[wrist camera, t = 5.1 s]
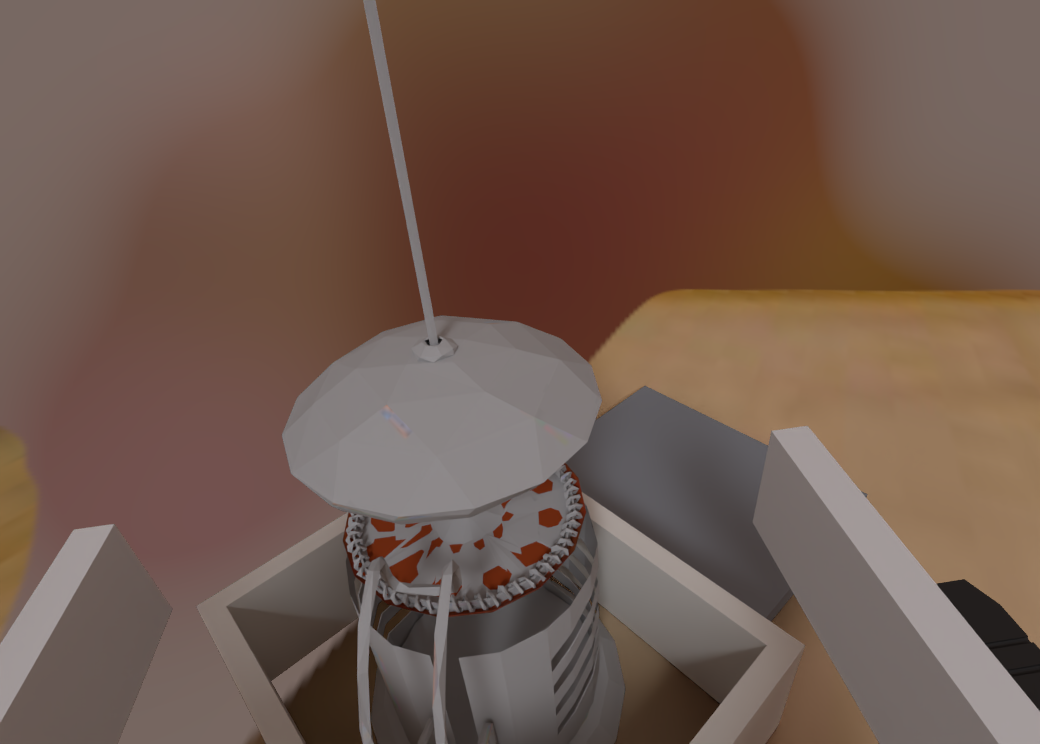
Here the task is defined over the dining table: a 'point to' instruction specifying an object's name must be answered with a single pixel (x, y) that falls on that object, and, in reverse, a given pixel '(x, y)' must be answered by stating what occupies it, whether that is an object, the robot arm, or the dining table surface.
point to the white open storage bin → (621, 574)
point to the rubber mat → (685, 491)
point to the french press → (463, 520)
